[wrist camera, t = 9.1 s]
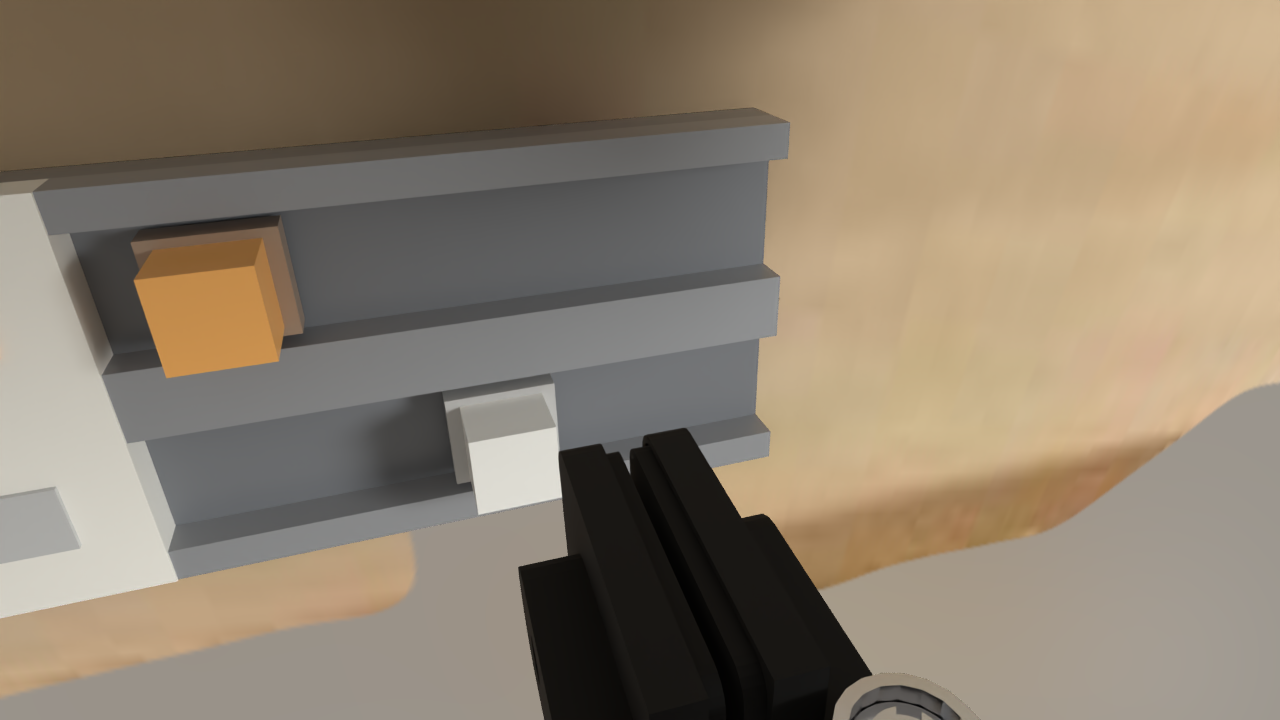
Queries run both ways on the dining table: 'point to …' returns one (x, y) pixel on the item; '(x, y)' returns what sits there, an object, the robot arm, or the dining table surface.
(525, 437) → the tab white
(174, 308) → the tab orange
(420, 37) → the dining table surface
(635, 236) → the switch panel
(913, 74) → the dining table surface
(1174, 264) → the dining table surface
